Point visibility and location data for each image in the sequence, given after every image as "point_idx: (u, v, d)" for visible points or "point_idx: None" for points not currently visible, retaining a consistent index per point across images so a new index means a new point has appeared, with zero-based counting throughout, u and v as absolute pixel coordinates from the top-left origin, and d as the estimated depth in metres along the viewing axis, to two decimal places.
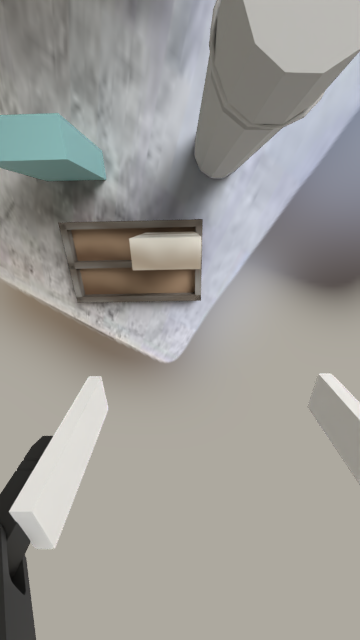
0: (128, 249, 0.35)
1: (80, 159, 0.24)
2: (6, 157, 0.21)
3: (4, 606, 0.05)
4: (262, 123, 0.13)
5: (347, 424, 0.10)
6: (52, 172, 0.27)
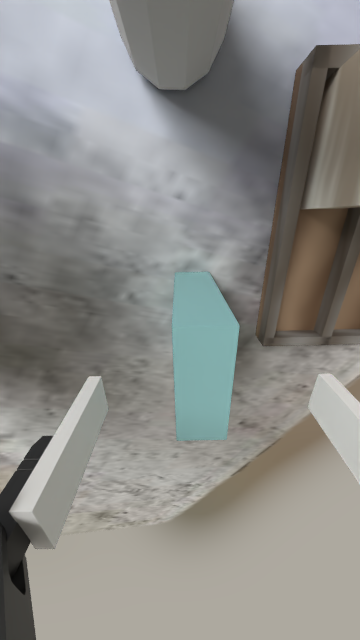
0: (318, 247, 0.20)
1: (216, 302, 0.14)
2: (226, 410, 0.14)
3: (4, 606, 0.05)
4: None
5: (347, 424, 0.10)
6: None
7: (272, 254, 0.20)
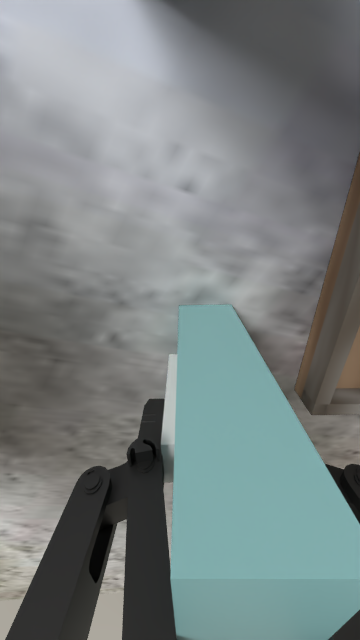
0: None
1: (271, 409, 0.06)
2: None
3: (166, 526, 0.07)
4: None
5: None
6: None
7: (336, 281, 0.12)
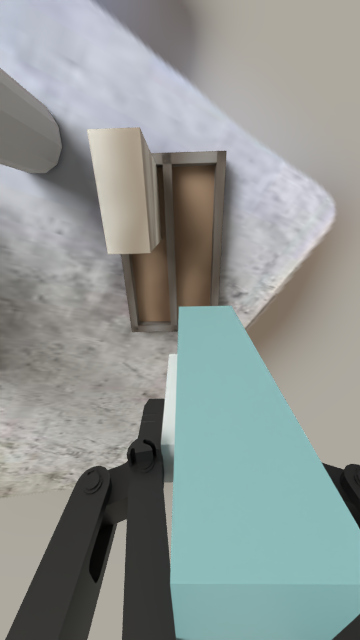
0: (155, 264, 0.30)
1: (270, 412, 0.06)
2: None
3: (166, 526, 0.07)
4: None
5: None
6: None
7: None
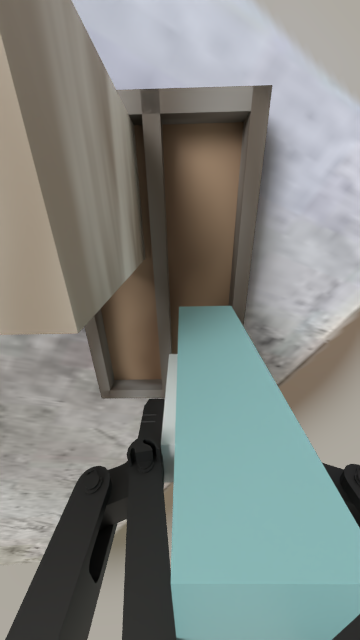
0: (137, 297, 0.18)
1: (271, 412, 0.06)
2: None
3: (166, 526, 0.07)
4: None
5: None
6: None
7: None
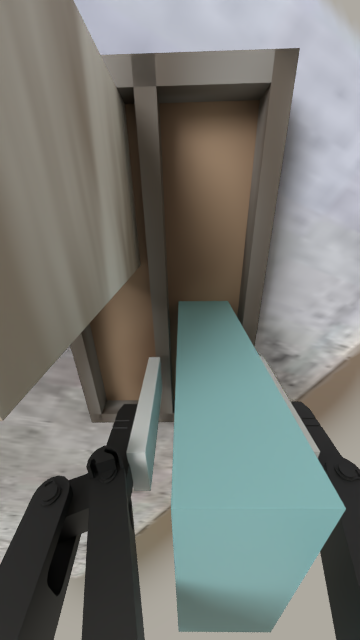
0: (131, 310, 0.15)
1: (259, 388, 0.07)
2: (277, 607, 0.07)
3: (129, 535, 0.06)
4: None
5: None
6: None
7: None
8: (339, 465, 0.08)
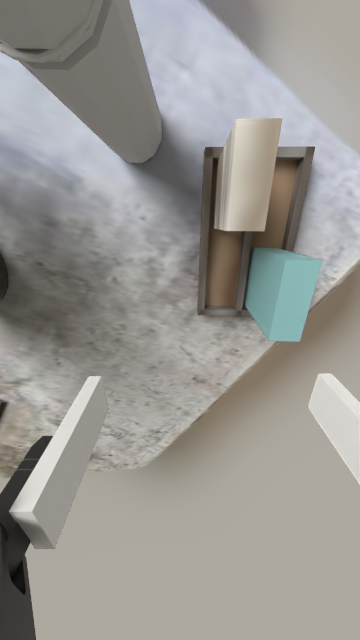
0: (228, 251, 0.32)
1: (299, 255, 0.24)
2: (303, 318, 0.23)
3: (4, 606, 0.05)
4: None
5: (347, 424, 0.10)
6: None
7: None
8: None
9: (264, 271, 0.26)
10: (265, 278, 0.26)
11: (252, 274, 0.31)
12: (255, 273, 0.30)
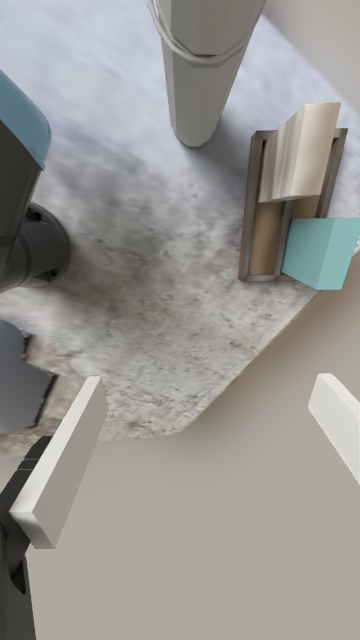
0: (269, 223, 0.37)
1: None
2: (346, 268, 0.28)
3: (4, 606, 0.05)
4: None
5: (347, 424, 0.10)
6: None
7: (244, 227, 0.37)
8: None
9: (307, 234, 0.31)
10: (310, 239, 0.31)
11: (291, 241, 0.36)
12: (294, 240, 0.35)
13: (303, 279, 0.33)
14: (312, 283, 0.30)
